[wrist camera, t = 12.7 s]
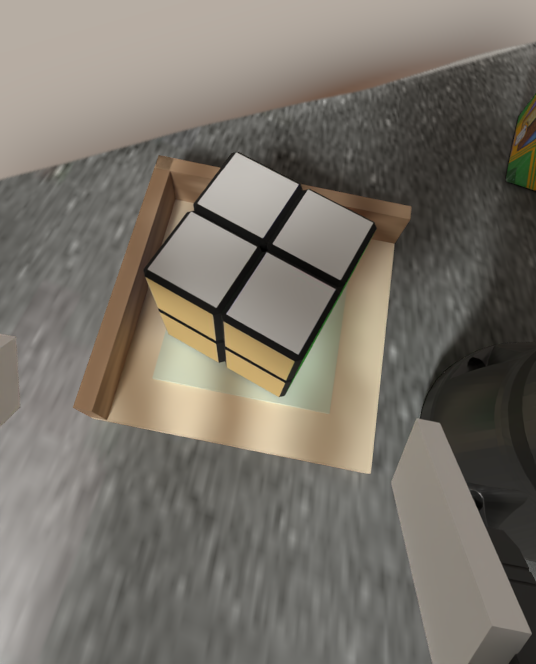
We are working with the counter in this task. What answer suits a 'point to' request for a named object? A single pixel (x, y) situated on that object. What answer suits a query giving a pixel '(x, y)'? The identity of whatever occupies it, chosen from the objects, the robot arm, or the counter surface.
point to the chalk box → (524, 149)
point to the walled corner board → (215, 378)
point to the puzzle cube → (256, 271)
